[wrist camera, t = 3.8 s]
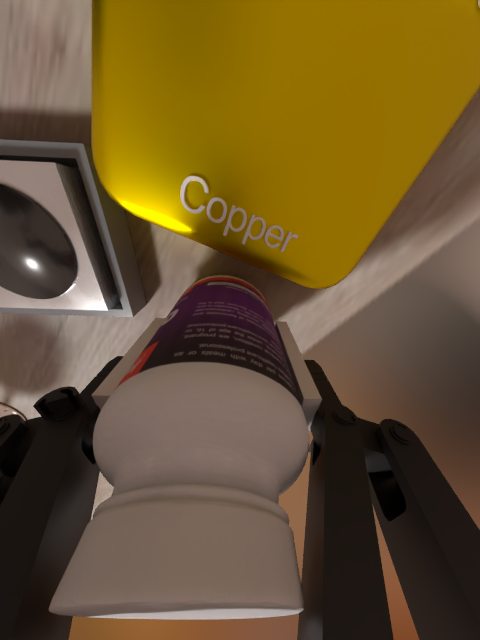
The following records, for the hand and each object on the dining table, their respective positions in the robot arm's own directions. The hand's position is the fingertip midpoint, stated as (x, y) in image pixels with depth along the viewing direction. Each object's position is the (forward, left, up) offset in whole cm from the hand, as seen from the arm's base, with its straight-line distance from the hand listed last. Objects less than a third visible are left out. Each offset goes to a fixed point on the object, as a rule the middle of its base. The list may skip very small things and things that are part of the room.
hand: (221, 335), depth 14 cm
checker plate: (-6, -12, -2) cm, 13 cm away
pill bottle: (0, 0, -4) cm, 4 cm away
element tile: (-13, +3, -4) cm, 14 cm away
